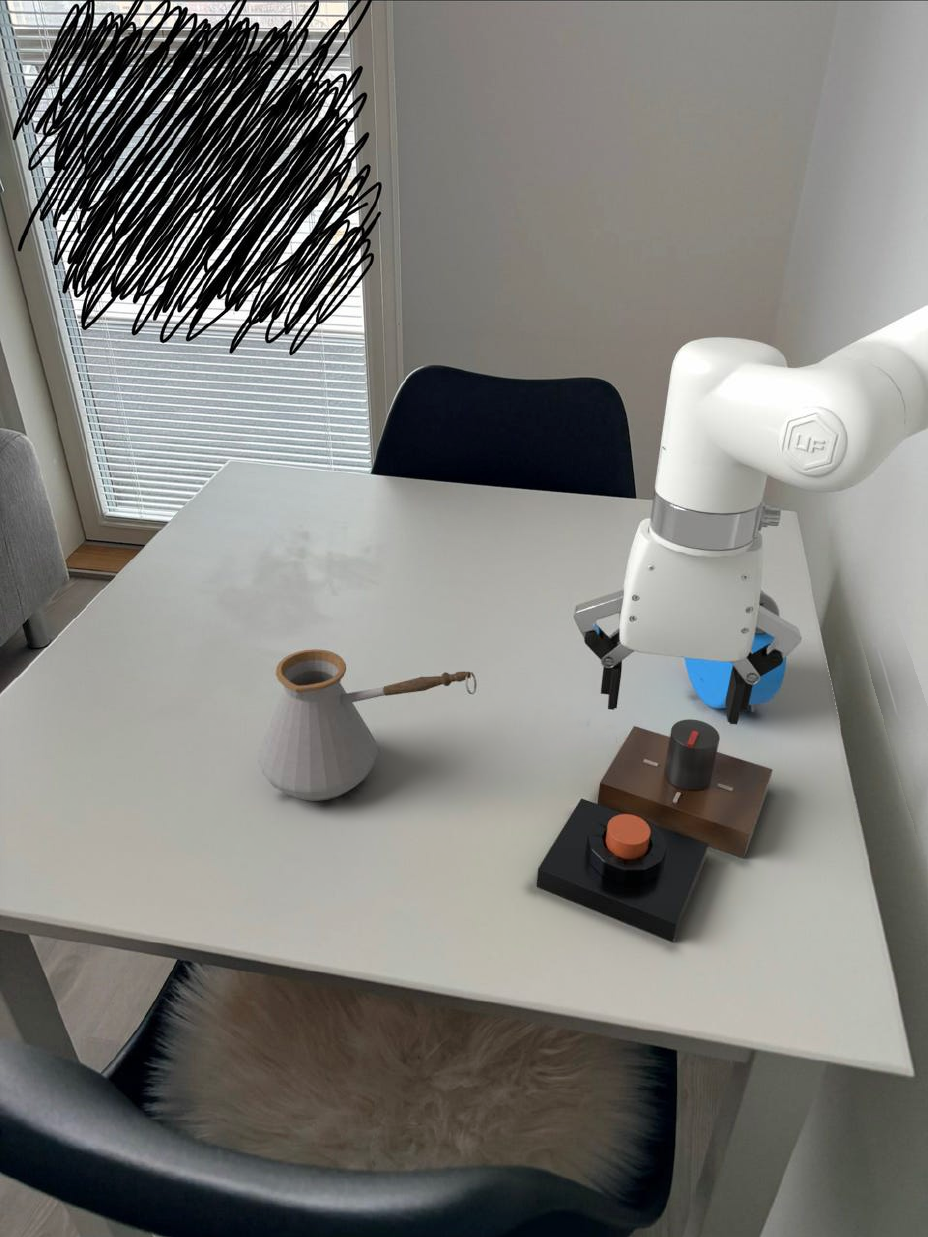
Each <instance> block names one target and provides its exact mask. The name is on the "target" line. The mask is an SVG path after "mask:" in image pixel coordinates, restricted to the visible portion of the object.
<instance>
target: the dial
mask: <svg viewBox="0 0 928 1237" xmlns="http://www.w3.org/2000/svg"><path fill="white" fill-rule="evenodd" d="M669 737H670V739H669V745H668V751H667V757H666V763H665V768H664V774H665V777H666V778H667V780H668V781H669V782H670V783H671V784H673V785H675V786H676V787H679V788H681V789H685V790H701V789H703V788H705V787H707V786H708V785H709V784H710V782H711V778H712V774H713V769H714V764H715V759H716V754H717V752H718V749H719V745H720V738H721V737H720V733H719V731H718V730H717V728H715V727H714V726H713V725H711V724H710V723H708V722H705V721H703V720H702V721H701V720H699V719H692V718H691V719H688V718H687V719H682V720H679V721H676V722H675V723H674V724H673V725H672V726H671V729H670V735H669Z"/></svg>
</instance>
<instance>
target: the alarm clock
mask: <svg viewBox="0 0 928 1237" xmlns="http://www.w3.org/2000/svg"><path fill="white" fill-rule="evenodd" d="M759 605H760V606H762V607H764V608H765V609H767V610H769V611H770V612H772V613H774V614H775V615H777V616H779V617H780V610H779V606H778V605H777V603H776V601H775V600H774V598H772V597H771V596H770V595H768V594H767V593H765V591H763V590H761V591H760V600H759ZM774 639H775V638H774V637H772V636H771V635H769V634H767V633H766V632H764V631H762V630H760V629H759V628H757V627H756V629H755V635H754V640H753V645H752V648H751V651H752V652H753V653H754V652H756V651H758V650H759V649H761V648H763V647H764V646H766V645H768V644H770V643H772V642H773V640H774ZM684 664H685V668H686V672H687V675H688V678H689V680H690V681H689V682H690V684H691V685H692V687H693V689H694V691H695V693H696V695H697V696H698V698H699V699H700V700H701V701H702V702H703V703H704V704H705V705H706V706H708V707H710V708H713V709H726V705H725V700H726V695H727V691H728V686H729V681H730V676H731V671H732V667H733V665H732V663H731V662H722V661H711V660H702V659H692V658H684ZM786 666H787V656H786V657H785V658H784V659H783V663H782V664H781V665H780V666H778V667H776V668H775V669H773V670H771V671H769V672H768V673H766V674H764V675H763V676H761V677H760V681H759V682H758V683H756V684H753V687H752V692H751V696H750V700H749V705H748V708H749V711H750V712H751V713H754V711H755V705H762V704H766V703H768V702H770V701H771V700H772V699H773V698H774V697H775V696H776V695H777V694H778V692H779V691H780V689H781V686H782V683H783V681H784V677H785V673H786Z"/></svg>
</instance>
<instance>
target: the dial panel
mask: <svg viewBox="0 0 928 1237" xmlns="http://www.w3.org/2000/svg"><path fill="white" fill-rule="evenodd" d="M669 739H670V736H668V735H665V734H661V733H658V732H655V731H652V730H649V729H646V728H644V727H643V728H642V727H639V726H636V725H633V727H632V728H631V730H630V732H629V733H628V735H627V736H626V738H625V740H624V741H623V743H622V744H621V747H620V748H619V750H618V752H617V753H616V755H615V756H614V758H613V759H612V761H611V763H610V765H609V767H608V769H607V770H606V771H605V773H604V775H603V777H602V778H601V780H600V782H599V786H598V788H599V789H598V796H597V802H596V804H599V805H602V806H605V807H607V808H610V809H613V810H616V811H619V812H621V813H624V814H631V815H634V816H637V817H640V818H643V819H645V820H648V821H650V822H651V823H652V824H655V825H658V826H661V827H663V828H666V829H669V830H672V831H675V832H677V833H680V834H683V835H686V836H689V837H691V838H694V839H697V840H700V841H703V842H705V843H708V844H709V845H708V847H711V848H713V849H716V850H719V851H722V852H724V853H728V854H729V855H733V856H736V857H739V858H741V859H745V857H746V854H747V852H748V849H749V846H750V844H751V843H750V842H751V839H752V837H753V834H754V831H755V828H756V826H757V822H758V819H759V816H760V814H761V811H762V808H763V805H764V802H765V801H766V800H765V799H766V796H767V794H768V790H769V786H770V782H771V778H772V774H773V768H770V767H766V766H764V765H760V764H757V763H754V762H751V761H747V760H744V759H741V758H738V757H735V756H731V755H729V754H725V753H723V752H720V751H717V754H716V759H715V764H714V769H713V774H712V778H711V782H710V784H709V785H708V786H707V787H705V788H703V789H701V790H685V789H681V788H679V787H676V786H675V785H673V784H671V783H670V782H669V781H668V780H667V778H666V777H665V774H664V768H665V763H666V757H667V751H668V745H669Z"/></svg>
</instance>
